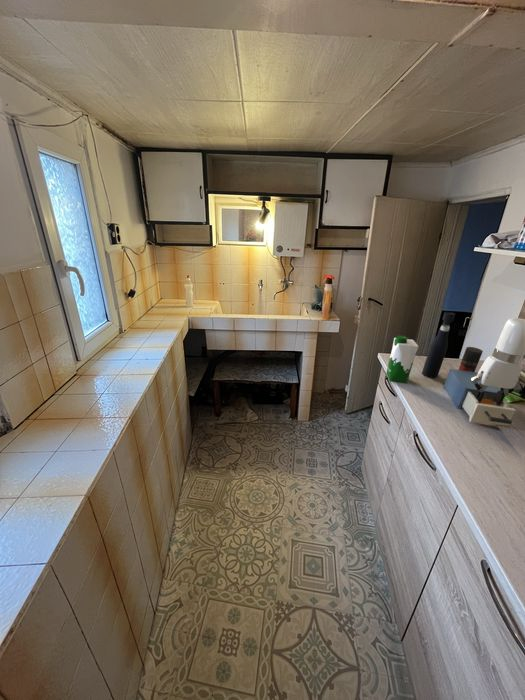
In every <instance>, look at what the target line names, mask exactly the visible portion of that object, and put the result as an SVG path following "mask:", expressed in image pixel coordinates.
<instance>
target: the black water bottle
mask: <svg viewBox="0 0 525 700" xmlns="http://www.w3.org/2000/svg"><path fill="white" fill-rule="evenodd" d="M455 316H456V313H455V312H452V311H444V313H443V317H442V321H443V322H442V325H441V326H440V328H439V329H438V331H437V335H436V336H435V338H434V339H433V340H432V342H431V343H430V347H429V350H428V352H427V355H426V358H425V362H424V365H423V368H422V371H421V374H422V376H424V377H425V378H429V379H437V378H438V376H439V374H440V371H441V368H442V365H443V362H444V359H445V357H446V354H447V350H448V346H449V340H448V339H449V338H448V336H449V333H450V330H451V329H450V328H451V327H450V326H451V323H452V322H454V320H455Z"/></svg>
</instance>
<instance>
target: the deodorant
mask: <svg viewBox="0 0 525 700" xmlns="http://www.w3.org/2000/svg"><path fill="white" fill-rule="evenodd" d="M483 352H484V350H482V349H480V348H479V347H474V346H467V347H466V348H465V350H464V353H463V356H462V358H461V361H460V363H459V366H458V369H457V370H463V371H471V372H476V370H477V367H478V364H479V362H480V359H481V357H482V355H483Z"/></svg>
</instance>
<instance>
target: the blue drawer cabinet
mask: <svg viewBox="0 0 525 700" xmlns="http://www.w3.org/2000/svg"><path fill="white" fill-rule="evenodd" d="M478 372H479V371H475V372H471V371H463V370H458V369H454V368H449V371H448V374H447V375H446V376H447V377H446V379H445V382H444V385H443V389H444V391H445V393H447V395H448V396H449V398H450V399H451V401H452V402H453V404H454V405H455V407H456V409H459V410H464V408H463V407H462V405H461V404H462V402H463V399H464V397H465V394H466V392H467V390H468V391H475V392H476V390H477V388H476V387H475V385H474V384H473V383H472V382H471V381H470V379H471V378H473V377H475V376H477V374H478ZM481 381H482V380H478V381H477V383H478V384H479V383H480V382H481ZM498 391H500V388H499V387H491V386H488V387H487V388H486V389H485V390H484V391H483V392H484V393H489V394H496V393H497V392H498Z"/></svg>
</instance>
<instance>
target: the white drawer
mask: <svg viewBox="0 0 525 700" xmlns="http://www.w3.org/2000/svg"><path fill="white" fill-rule="evenodd" d="M475 393H476V392H475V391H468V390H467V392H466V394H465V397H464V399H463V402H462V404H461V405H462V407H463V408H464V409H463V411H465V412H466V414H467V415H468V417H469V419H468V421H469V423H474V424H475V423H476V424H482V425H488V426H493V427H497V426H506V427H509V425H512V424H513V421H512V419H513V417H514V415H515V413H516V411H517V410H516V409H515V408H513V407H510V406H509V404H508V403H507V402H506V401H505V400H504V399H503V401H502V402H501V404H500V405H498V404H497V403H496V402H495V401H494V398H495V396H496V394H489V393H484V395H483V398H482V399H489V400H491V401H492V402H493V403H494V404H495V405H496V406H494V405H487V404H481V403H479V401H478V400H477V399H476V398H475V396H474V395H475Z"/></svg>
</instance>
